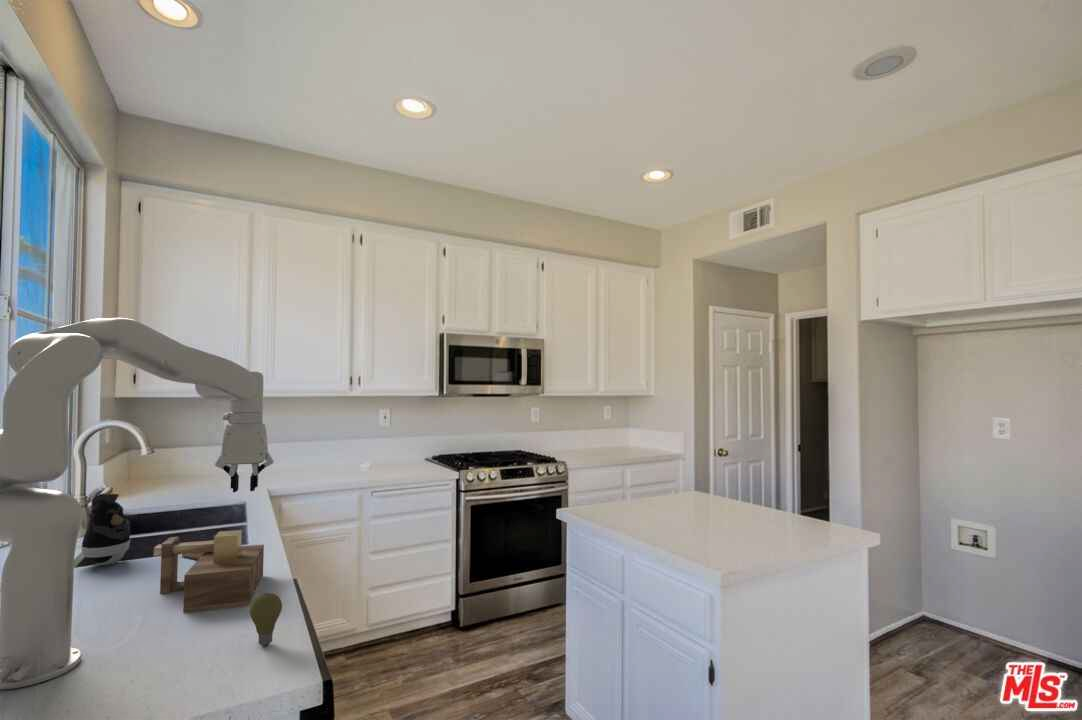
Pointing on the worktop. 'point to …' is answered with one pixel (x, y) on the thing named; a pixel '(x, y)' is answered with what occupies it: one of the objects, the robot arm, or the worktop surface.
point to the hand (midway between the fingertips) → (244, 490)
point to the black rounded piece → (106, 531)
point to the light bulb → (265, 615)
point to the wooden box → (208, 584)
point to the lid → (226, 558)
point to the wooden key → (188, 548)
